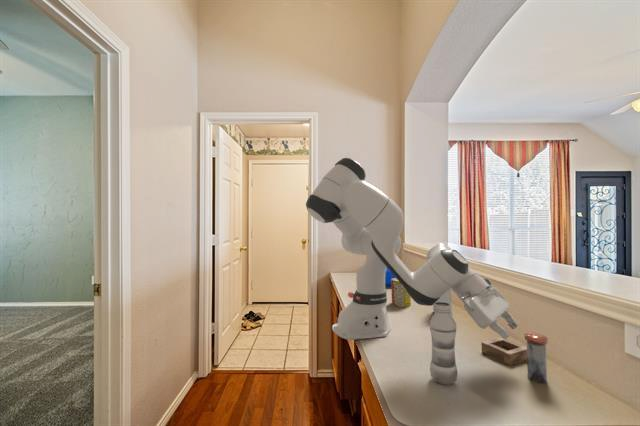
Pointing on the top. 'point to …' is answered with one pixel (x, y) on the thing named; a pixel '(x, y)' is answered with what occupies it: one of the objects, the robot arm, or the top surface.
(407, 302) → the beverage can
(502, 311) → the robot arm
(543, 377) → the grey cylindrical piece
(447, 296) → the skincare box
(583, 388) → the top surface
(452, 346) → the plastic bottle
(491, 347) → the collar
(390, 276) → the vase
